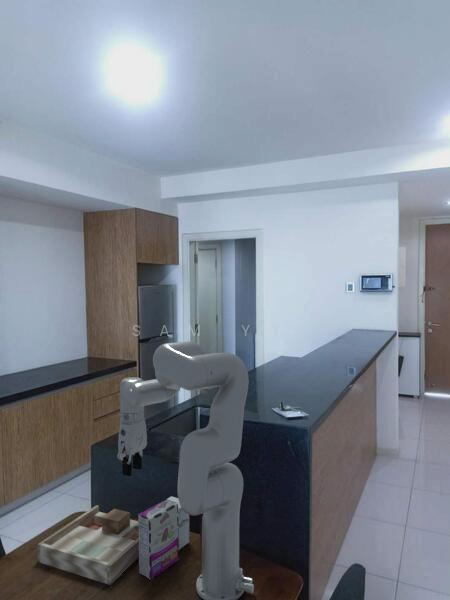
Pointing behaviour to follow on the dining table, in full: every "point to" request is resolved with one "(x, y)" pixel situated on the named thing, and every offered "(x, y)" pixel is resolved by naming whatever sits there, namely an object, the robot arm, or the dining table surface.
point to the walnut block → (116, 521)
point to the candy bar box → (158, 538)
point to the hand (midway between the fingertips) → (132, 471)
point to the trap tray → (91, 548)
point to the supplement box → (182, 524)
